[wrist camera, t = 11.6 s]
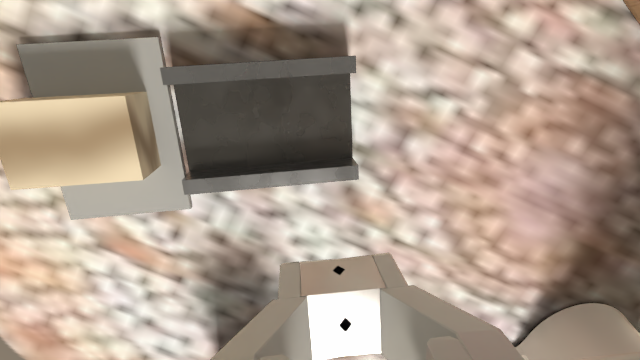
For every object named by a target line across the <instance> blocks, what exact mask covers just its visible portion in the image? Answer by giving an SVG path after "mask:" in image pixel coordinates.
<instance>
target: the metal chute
mask: <svg viewBox="0 0 640 360" xmlns="http://www.w3.org/2000/svg"><path fill="white" fill-rule="evenodd" d="M160 72H161V77H162V82H163V85H174V90H175V95H176V100H177V106H178V111H179V117H180V122H181V127H182V133H183V138H184V144H185V149H186V154H187V160H188V165H189V173H188V174H187V175H186V176H185V177H184V178H183V180H182V185H183V190H184V195H189V194H200V193H211V192H223V191H234V190H245V189H256V188H267V187H279V186H290V185H301V184H312V183H324V182H335V181H346V180H357V179H359V176H358V164H357V163H356V162H355V161H354V159H353V158H352V129H351V95H350V73H356V56H344V57H328V58H311V59H294V60H278V61H261V62H244V63H228V64H211V65H194V66H178V67H161V68H160Z"/></svg>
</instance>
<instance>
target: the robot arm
mask: <svg viewBox="0 0 640 360" xmlns="http://www.w3.org/2000/svg"><path fill="white" fill-rule="evenodd" d="M371 353H381V354H382V355H383V356H384V357H385V358H386V359H387V360H640V333H639V332H638V331H637V330H636V329H635V328H634V327H633V325H632V324H631V323H630V322H629V321H628V320H627V318H626V317H625V316H624V315H623V314H622V313H621V312H620V311H619V310H617V309H616V308H614V307H611V306H609V305H605V304H599V303H587V304H580V305H575V306H572V307H569V308H566V309H564V310H561V311H559V312H557V313H555V314H553V315H552V316H550V317H548V318H547V319H545V320H544V321H543V322H541V323H540V324H539V325H538V326H537V327H536V328H535V329H534V330H533V331H532V332H531V333H530V334H529V335H528V336H527V337H526V338H525V340H524V341H523V342H522V343H521V344H520V345H518V346H517V347H514V346H513V345H512V343H511V342H510V341H509V340H508V338H507V337H506V336H505V335H504V333H503V332H502V331H501V330H500V329H499V328H497V327H495V326H493V325H491V324H489V323H487V322H485V321H483V320H481V319H479V318H477V317H475V316H473V315H471V314H469V313H467V312H465V311H463V310H461V309H459V308H457V307H455V306H453V305H451V304H449V303H447V302H446V301H444V300H442V299H440V298H438V297H436V296H434V295H432V294H430V293H428V292H426V291H424V290H422V289H420V288H418V287H416V286H414V285H412V286H408V284H407V282H406V281H405V279H404V277H403V275H402V273H401V271H400V270H399V268H398V266H397V264H396V262H395V260H394V259H393V257H392V255H391V254H390V253H383V254H376V255H367V256H359V257H351V258H342V259H329V260H316V261H303V262H300V263H299V262H290V263H282V264H281V265H280V277H279V293H278V299H276V300H272V301H271V302H270V303H269V304H268V305H267V306H266V307H265V308H264V309H263V310H262V311H261V312H259V313H258V314H257V315H256V316H255V317H254V318H253V319H252V320H251V321H250V322H249V323H248V324H247V325H246V326H245V327H244V328H243V329H242V330H241V331H240V332H239V333H237V334H236V335H235V336H234V337H233V338H232V339H231V340H230V341H229V342H228V343H227V344H226V345H225V346H224V347H223V348H222V349H221V350H220V351H219V352H218V353H217V354H216V355H214V356H213V357H212V358H211V359H210V360H319V359H326V358H333V357H340V356H347V355H359V354H371Z"/></svg>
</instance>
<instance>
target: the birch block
mask: <svg viewBox="0 0 640 360" xmlns="http://www.w3.org/2000/svg"><path fill="white" fill-rule="evenodd" d="M0 160H1V162H2V165H3V168H4V171H5V174H6V177H7V180H8V183H9V185H10V188H11V190H18V189H31V188H45V187H58V186H72V185H85V184H99V183H113V182H126V181H140V180H144V179H145V178H146V177H148V176H149V175H150V174H151V173H153V172H154V171H155V170H156V169H157V168H159V167H160V166H161V162H160V157H159V152H158V147H157V142H156V137H155V132H154V127H153V122H152V117H151V112H150V107H149V101H148V96H147V92H130V93H111V94H92V95H73V96H55V97H36V98H21V99H13V100H5V101H0Z"/></svg>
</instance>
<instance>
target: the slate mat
mask: <svg viewBox="0 0 640 360" xmlns="http://www.w3.org/2000/svg"><path fill="white" fill-rule="evenodd" d="M16 46H17V49H18V52H19V55H20V59H21V62H22V65H23V68H24V71H25V75H26V78H27V81H28V84H29V87H30V91H31V94H32V97H33V98H36V97H55V96H73V95H92V94H111V93H130V92H147V96H148V101H149V107H150V112H151V117H152V122H153V127H154V132H155V137H156V142H157V147H158V152H159V157H160V162H161V166H160V167H159V168H157V169H156V170H155V171H154V172H153V173H151V174H150V175H149V176H148V177H146V178H145V179H144V180H140V181H126V182H113V183H99V184H85V185H72V186H61V190H62V193H63V196H64V199H65V202H66V206H67V209H68V212H69V215H70V218H71V220H75V219H86V218H96V217H107V216H118V215H129V214H140V213H151V212H161V211H172V210H183V209H191V207H192V202H191V197H190V194H189V195H184V190H183V185H182V180H183V178H184V177H185V176H186V170H185V165H184V160H183V154H182V149H181V144H180V138H179V133H178V128H177V123H176V117H175V112H174V107H173V101H172V96H171V91H170V85H163V82H162V77H161V72H160V68H161V67H166V64H165V59H164V54H163V48H162V43H161V38H160V37H149V38H130V39H112V40H93V41H74V42H55V43H36V44H17V45H16Z"/></svg>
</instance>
